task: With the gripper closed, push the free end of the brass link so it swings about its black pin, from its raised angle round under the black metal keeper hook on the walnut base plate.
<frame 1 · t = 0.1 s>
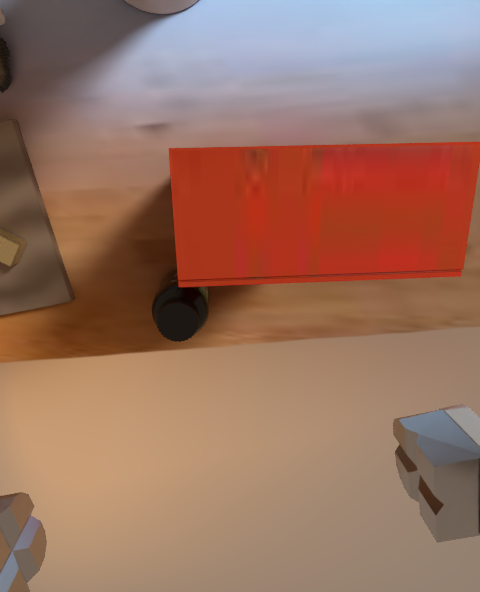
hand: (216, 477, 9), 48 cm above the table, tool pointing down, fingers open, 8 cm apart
file binder: (261, 186, 54), on the table
supplement bottle: (184, 290, 58), on the table
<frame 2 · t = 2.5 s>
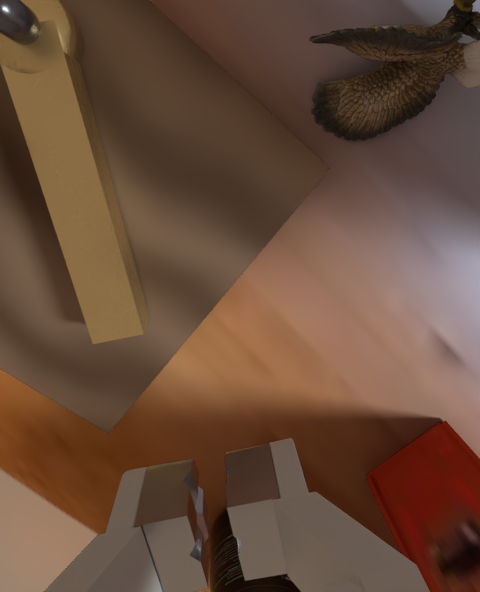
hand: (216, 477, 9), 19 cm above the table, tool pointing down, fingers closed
brass link: (68, 181, 21), point 4 cm above the table, hinge at 50.0°
eagle figurine: (380, 67, 24), on the table
file binder: (456, 507, 35), on the table
supplement bottle: (251, 528, 34), on the table
walnut base plate: (55, 49, 23), on the table
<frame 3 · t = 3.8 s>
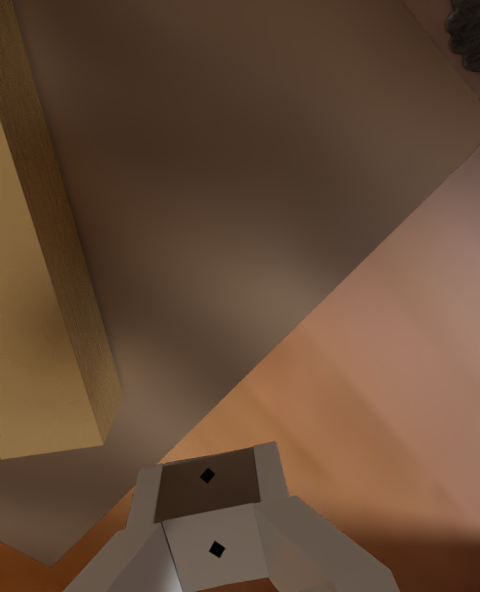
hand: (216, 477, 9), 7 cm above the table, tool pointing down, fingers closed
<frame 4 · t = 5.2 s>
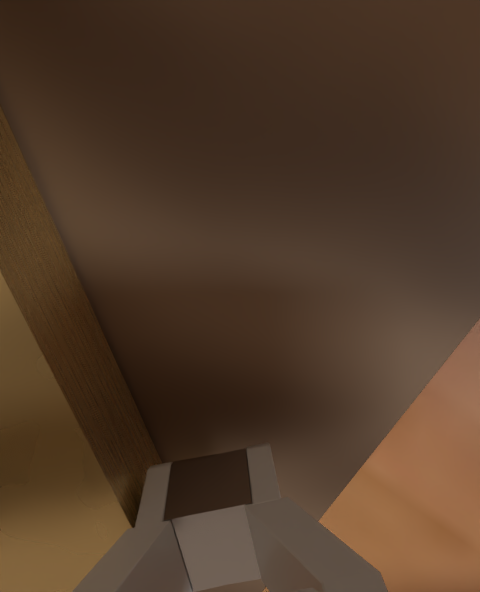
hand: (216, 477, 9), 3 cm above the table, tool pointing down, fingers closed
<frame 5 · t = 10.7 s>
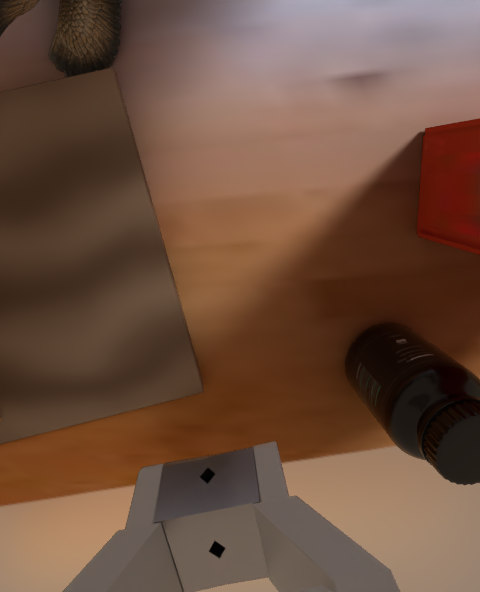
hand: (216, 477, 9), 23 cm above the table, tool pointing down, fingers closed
supplement bottle: (381, 358, 35), on the table
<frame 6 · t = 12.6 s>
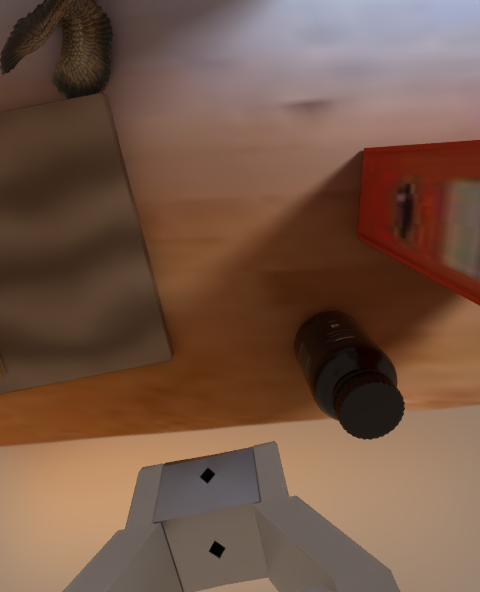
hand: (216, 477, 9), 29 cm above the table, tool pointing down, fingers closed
eagle figurine: (73, 32, 31), on the table
file binder: (453, 193, 37), on the table
supplement bottle: (326, 341, 41), on the table
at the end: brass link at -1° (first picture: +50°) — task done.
